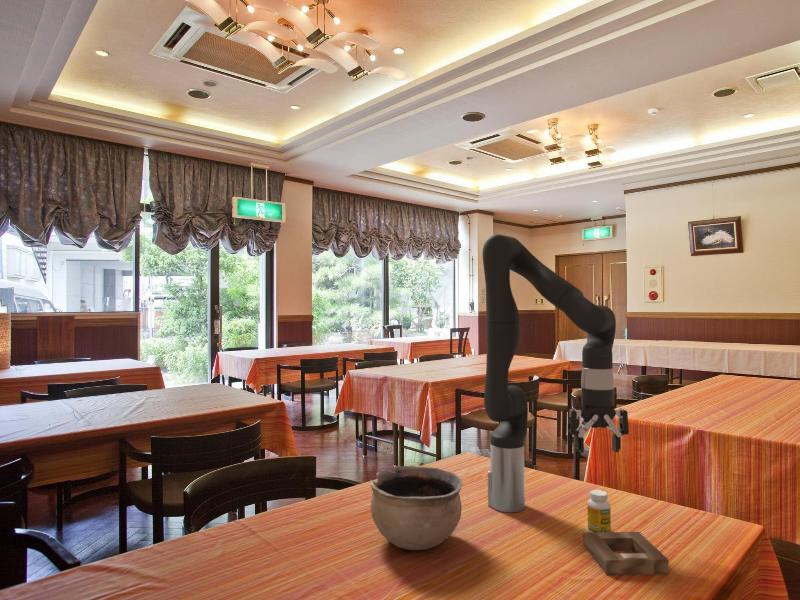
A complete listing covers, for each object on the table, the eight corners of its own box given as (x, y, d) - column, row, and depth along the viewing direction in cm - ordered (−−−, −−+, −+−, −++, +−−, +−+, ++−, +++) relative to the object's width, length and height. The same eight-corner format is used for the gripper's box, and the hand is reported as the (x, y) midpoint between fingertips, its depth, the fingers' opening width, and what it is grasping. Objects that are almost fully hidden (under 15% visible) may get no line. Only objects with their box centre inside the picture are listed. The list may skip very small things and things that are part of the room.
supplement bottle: (596, 525, 131) (596, 487, 131) (615, 532, 126) (615, 493, 126) (583, 530, 128) (582, 491, 128) (602, 538, 123) (601, 498, 123)
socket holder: (606, 574, 107) (606, 559, 107) (583, 545, 120) (583, 531, 120) (668, 574, 107) (668, 558, 107) (639, 544, 120) (638, 530, 120)
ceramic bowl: (396, 516, 137) (396, 460, 137) (475, 531, 127) (474, 471, 127) (353, 553, 117) (352, 487, 117) (442, 574, 107) (442, 502, 108)
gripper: (574, 388, 123) (574, 456, 123) (633, 388, 123) (633, 455, 123) (563, 383, 131) (564, 447, 131) (619, 383, 131) (620, 447, 131)
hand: (598, 451), depth 127 cm, fingers open, 8 cm apart
